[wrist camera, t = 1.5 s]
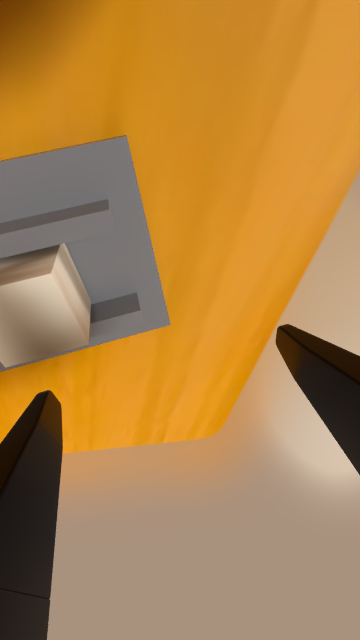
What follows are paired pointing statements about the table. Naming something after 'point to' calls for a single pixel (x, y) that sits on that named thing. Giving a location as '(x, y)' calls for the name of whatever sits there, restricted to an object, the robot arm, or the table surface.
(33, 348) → the block
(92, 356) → the table surface
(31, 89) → the table surface
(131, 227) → the twin rail plate
